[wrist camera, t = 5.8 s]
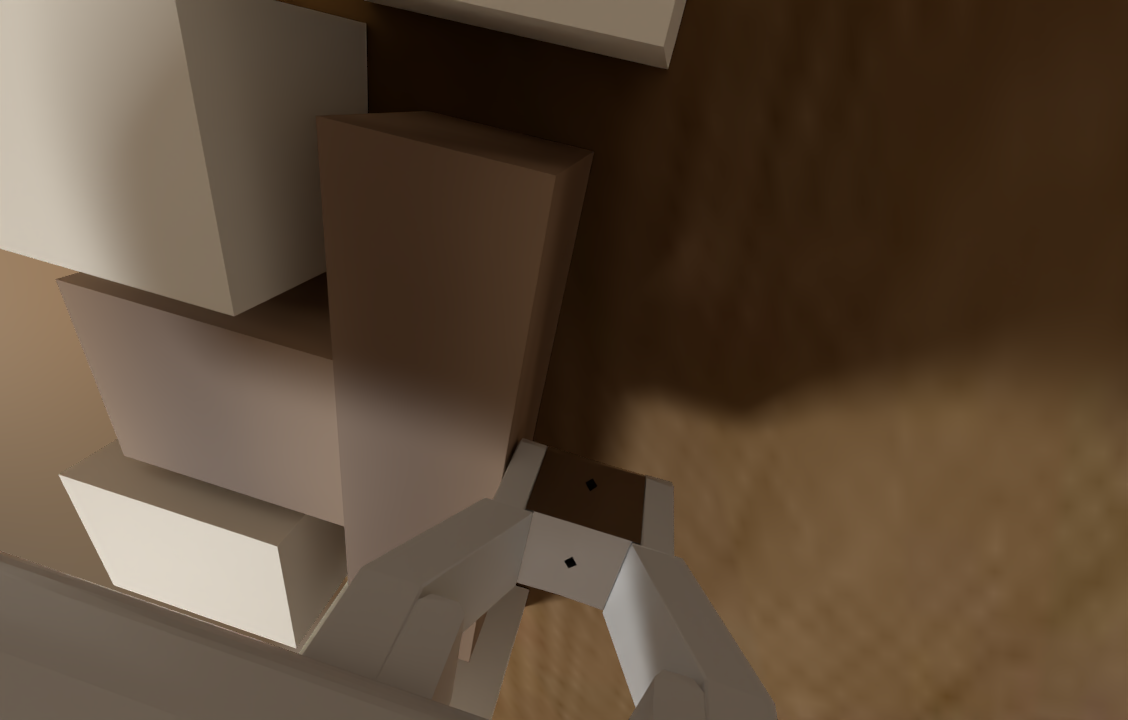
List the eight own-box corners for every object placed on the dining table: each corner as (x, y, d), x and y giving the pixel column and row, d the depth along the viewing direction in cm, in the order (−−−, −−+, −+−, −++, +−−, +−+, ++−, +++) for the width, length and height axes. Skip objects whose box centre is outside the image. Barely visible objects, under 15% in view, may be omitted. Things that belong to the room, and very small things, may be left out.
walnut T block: (594, 151, 8) (556, 175, 5) (507, 555, 14) (469, 662, 11) (172, 49, 9) (-43, 26, 6) (257, 476, 14) (164, 559, 12)
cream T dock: (689, -12, 7) (701, -105, 4) (524, 608, 15) (485, 739, 12) (72, -144, 7) (-335, -308, 4) (234, 514, 15) (128, 614, 12)
